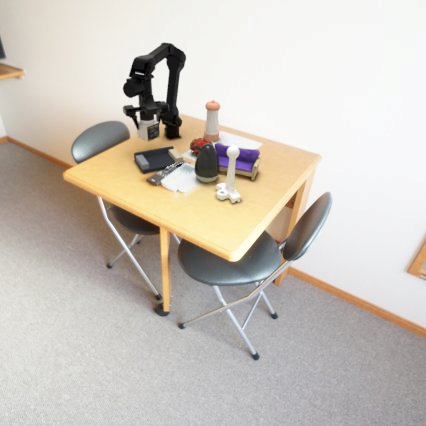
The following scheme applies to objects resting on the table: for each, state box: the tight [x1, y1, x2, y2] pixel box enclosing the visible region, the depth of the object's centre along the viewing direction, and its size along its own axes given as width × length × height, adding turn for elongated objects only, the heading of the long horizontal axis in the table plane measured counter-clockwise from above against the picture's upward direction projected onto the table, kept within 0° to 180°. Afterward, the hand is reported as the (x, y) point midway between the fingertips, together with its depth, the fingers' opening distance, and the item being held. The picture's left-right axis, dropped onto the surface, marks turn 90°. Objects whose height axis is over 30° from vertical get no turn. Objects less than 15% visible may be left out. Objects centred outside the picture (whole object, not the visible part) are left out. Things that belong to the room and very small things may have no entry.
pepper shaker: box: [203, 99, 221, 143], centre depth 155 cm, size 7×7×19 cm
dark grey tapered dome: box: [193, 144, 221, 183], centre depth 125 cm, size 10×10×15 cm
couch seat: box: [133, 145, 184, 175], centre depth 137 cm, size 18×12×4 cm, turn 117°
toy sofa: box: [213, 141, 262, 181], centre depth 132 cm, size 21×9×10 cm, turn 70°
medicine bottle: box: [136, 111, 161, 143], centre depth 139 cm, size 7×7×12 cm
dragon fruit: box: [189, 137, 214, 156], centre depth 145 cm, size 8×8×12 cm
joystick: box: [216, 145, 242, 204], centre depth 114 cm, size 11×8×20 cm
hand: (147, 128), depth 140 cm, fingers closed on medicine bottle, 9 cm apart
